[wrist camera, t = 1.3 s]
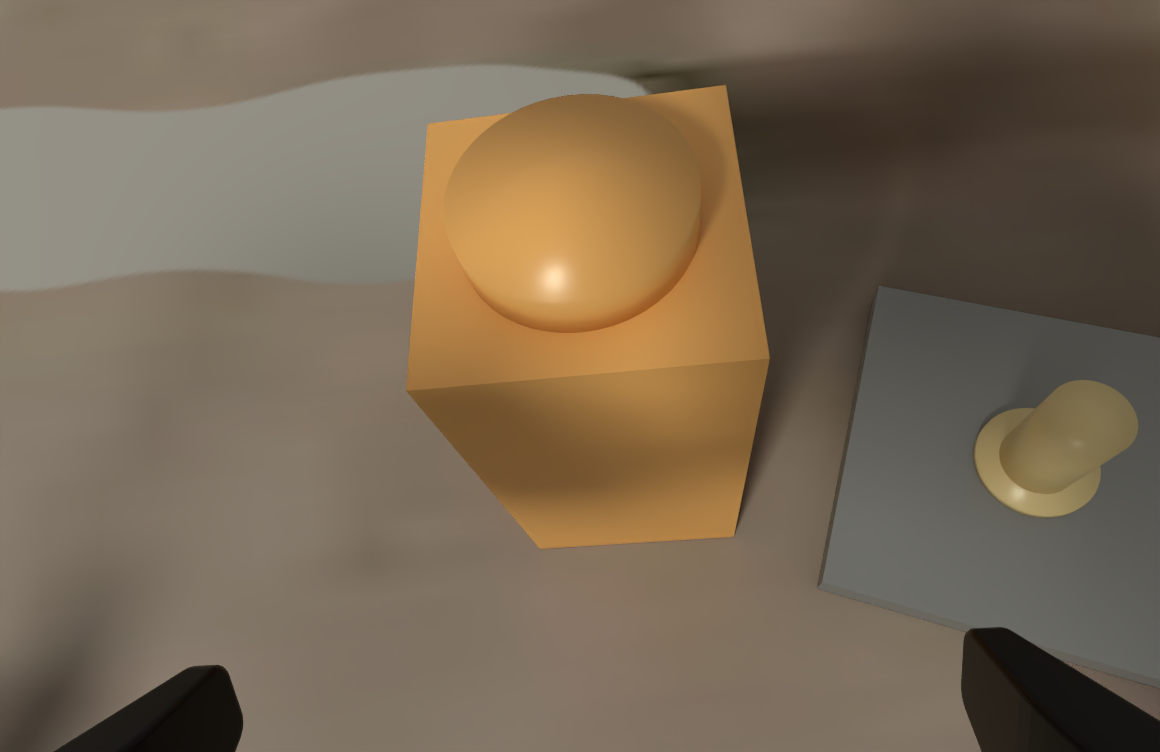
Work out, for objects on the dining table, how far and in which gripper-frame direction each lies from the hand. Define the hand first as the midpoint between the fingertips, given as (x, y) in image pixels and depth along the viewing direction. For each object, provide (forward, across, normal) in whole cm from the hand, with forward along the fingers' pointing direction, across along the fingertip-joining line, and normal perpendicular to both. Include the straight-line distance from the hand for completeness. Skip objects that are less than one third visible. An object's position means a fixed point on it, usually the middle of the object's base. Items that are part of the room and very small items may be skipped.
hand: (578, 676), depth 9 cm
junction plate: (+14, -12, +5) cm, 19 cm away
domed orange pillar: (+15, 0, +4) cm, 15 cm away
